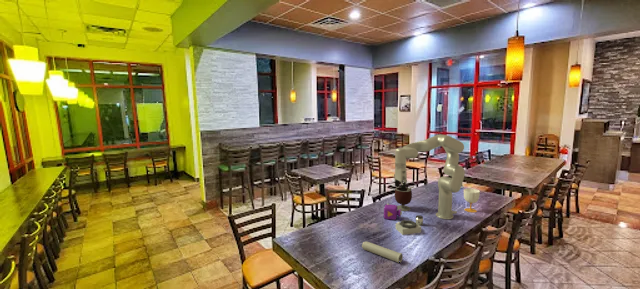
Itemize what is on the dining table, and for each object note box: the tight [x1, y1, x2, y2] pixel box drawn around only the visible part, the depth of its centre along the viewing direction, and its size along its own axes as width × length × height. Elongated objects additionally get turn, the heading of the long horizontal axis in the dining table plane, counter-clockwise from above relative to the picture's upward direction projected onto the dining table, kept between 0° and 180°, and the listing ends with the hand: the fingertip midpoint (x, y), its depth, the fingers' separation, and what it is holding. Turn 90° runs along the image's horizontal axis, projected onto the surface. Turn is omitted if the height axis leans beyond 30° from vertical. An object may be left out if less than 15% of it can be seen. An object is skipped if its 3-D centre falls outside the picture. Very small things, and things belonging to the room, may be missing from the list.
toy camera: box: [383, 203, 403, 221], centre depth 213 cm, size 11×14×10 cm
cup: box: [463, 187, 481, 214], centre depth 224 cm, size 12×12×17 cm
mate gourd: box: [394, 186, 415, 212], centre depth 231 cm, size 16×14×20 cm
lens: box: [415, 214, 424, 227], centre depth 201 cm, size 5×5×6 cm
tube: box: [361, 240, 403, 264], centre depth 162 cm, size 5×5×25 cm
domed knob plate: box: [395, 219, 422, 236], centre depth 191 cm, size 14×10×6 cm
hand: (399, 188), depth 200 cm, fingers open, 9 cm apart
